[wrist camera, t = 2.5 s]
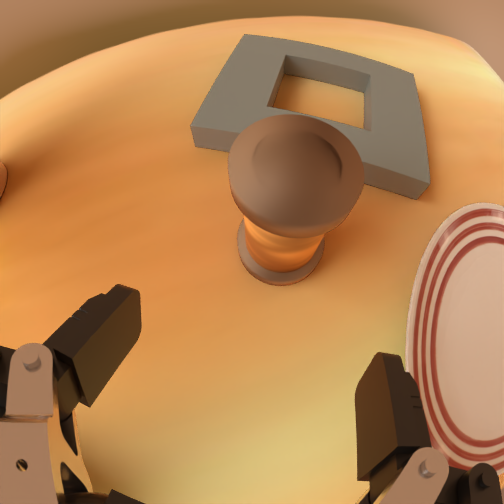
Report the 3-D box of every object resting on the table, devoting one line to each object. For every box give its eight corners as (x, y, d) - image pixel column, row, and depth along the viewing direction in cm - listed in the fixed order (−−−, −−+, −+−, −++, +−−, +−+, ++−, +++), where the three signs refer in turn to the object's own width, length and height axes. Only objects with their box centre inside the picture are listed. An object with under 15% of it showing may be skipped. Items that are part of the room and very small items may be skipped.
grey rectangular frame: (195, 146, 28) (190, 125, 25) (244, 51, 33) (244, 34, 31) (416, 200, 26) (430, 184, 23) (406, 89, 31) (413, 74, 29)
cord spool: (228, 274, 23) (209, 205, 13) (250, 201, 25) (248, 105, 15) (311, 294, 23) (358, 240, 12) (326, 219, 25) (366, 132, 14)
